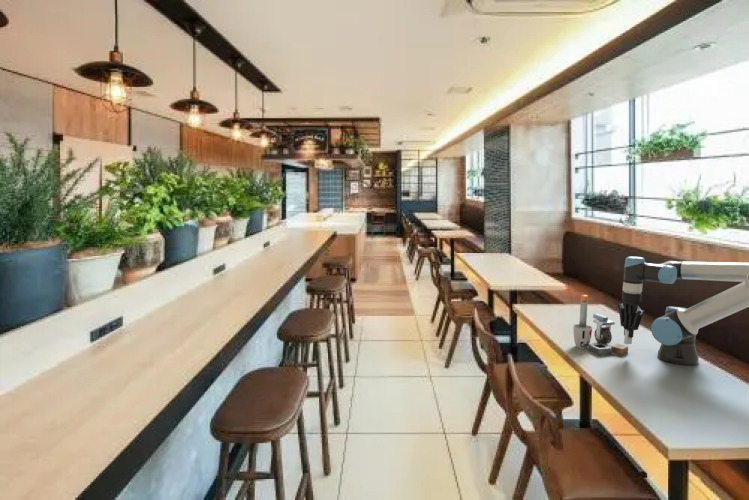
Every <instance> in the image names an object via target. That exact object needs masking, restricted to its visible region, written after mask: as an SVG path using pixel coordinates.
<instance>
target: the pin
mask: <svg viewBox="0 0 749 500" xmlns="http://www.w3.org/2000/svg"><path fill="white" fill-rule="evenodd" d="M588 301H589V295H588V294H581V295H580V307H579V308H580V309H579V327H586V325H587V323H588V322H587V321H588V320H587V318H588V304H589V303H588Z"/></svg>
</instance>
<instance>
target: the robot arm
mask: <svg viewBox="0 0 749 500" xmlns="http://www.w3.org/2000/svg"><path fill="white" fill-rule="evenodd" d="M677 280H696V281H699V280H700V281H717V282H718V281H719V282H737V283H738V282H739V284H736V285H734V286H732V287H729V288H728V289H726V290H724V291H723V290H722V292H719V293H718V294H715V295H713V296H711V297H708V298H706V299H704V300H703V301H701V302H698V303H696V304H694V305H692V306H690V307H688V308H686V307H680V306H666V308H665V311H664V312H665V314H664V315H662V316H659V317H657V318H655V320H654V321H652V324H651V326H650V331H651V335H652V337H653V338H654V339H655V340H656V341H657V342H658V343H659V344H660V346H659V348H658V350H657V357H658V358H659V359H660V360H661V361H664V362H667V363H671V364H675V365H681V366H696V365H698V364H699V355H698V352H697V348H696V338H697V337H696V336H697V334H698V333H699V329H701V328H704V327H706V326H708V325H710V324H713V323H714V322H717V321H719V320H722V319H724V318H726V317H729V316H731V315H733V314H735V313H738V312H740V311H742V310H744V309H747V308H749V262H720V261H719V262H717V261H716V262H714V261H713V262H712V261H710V262H709V261H708V262H707V261H677V260H667V261H664V262H661V263H649V262H646V260H645V258H644V257H641V256H627V257H626V258H625V262H624V266H623V281H622V291H621V292H622V293H621V294H622V295H621V299H622V303H619V304H617V308H618V313H619V322H620V327H623V336H624V338H623V339H624V340H623V341H624V342H623V345H624V344H625V345H632V343H633V338H634V332H635V331H638V330H639V327H640V324H641V321H642V318H643V315H644V314H645V310H644V309H643V310H642V309H641V304H640V303H641V302H642V297H643V296H642V295H643V294H642V292H643V284H644V281H647V282H653V283H654V282H655V283H660V284H669V285H670V284H671V285H672V284H674V283H675V282H676V281H677Z"/></svg>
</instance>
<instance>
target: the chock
mask: <svg viewBox="0 0 749 500" xmlns="http://www.w3.org/2000/svg"><path fill="white" fill-rule="evenodd" d="M610 347H611V348H612V354H611V355H616V356H619V357H623V356H625V355H627V354H628V352H629V346H628V345H626V344H625V345H624V344H620V343H615V344H613V345H611V346H610Z"/></svg>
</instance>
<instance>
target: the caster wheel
mask: <svg viewBox="0 0 749 500" xmlns="http://www.w3.org/2000/svg"><path fill="white" fill-rule="evenodd" d="M592 318H593V323H595V324H596V328H595V331H594V339H595V341H596V342H597V343H602V344H604V345H609V344H611V342H612V340H613V339H612V338H613V336H612V332H611V326H614V325H615V324H616V323H615V321H613V320H611V319H609V317H608V316H605V315H602V314H600V313H593V316H592ZM604 326H605V327H604Z"/></svg>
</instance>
